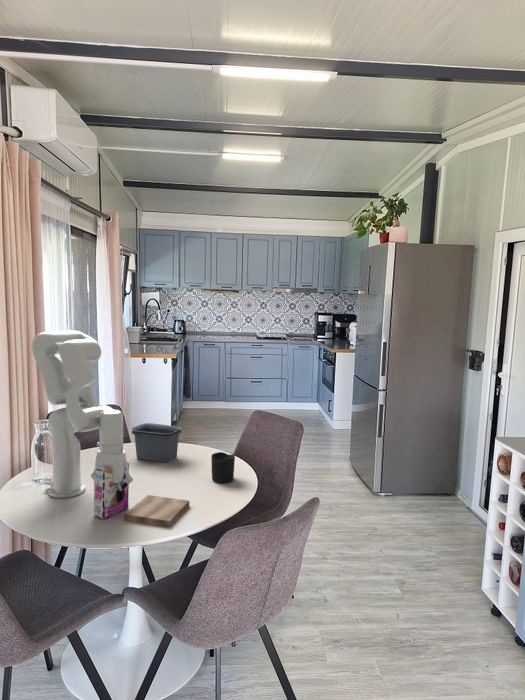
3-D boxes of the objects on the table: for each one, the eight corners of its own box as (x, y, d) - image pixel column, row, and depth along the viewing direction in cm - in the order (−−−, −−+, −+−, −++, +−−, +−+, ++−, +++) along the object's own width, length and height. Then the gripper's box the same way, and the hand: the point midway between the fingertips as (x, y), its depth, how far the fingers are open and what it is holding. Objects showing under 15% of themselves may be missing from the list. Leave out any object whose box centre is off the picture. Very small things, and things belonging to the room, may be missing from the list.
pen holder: (229, 474, 194) (230, 451, 193) (237, 482, 186) (238, 458, 185) (208, 477, 191) (208, 453, 190) (215, 485, 182) (215, 460, 181)
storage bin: (127, 459, 209) (127, 428, 208) (147, 450, 223) (147, 420, 222) (168, 466, 202) (169, 434, 200) (186, 455, 216) (186, 425, 215)
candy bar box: (104, 520, 151) (103, 471, 149) (93, 516, 153) (92, 468, 152) (129, 507, 160) (129, 461, 159) (119, 504, 163) (119, 458, 161)
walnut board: (124, 520, 151) (124, 514, 151) (147, 500, 167) (147, 495, 166) (169, 526, 147) (169, 520, 147) (189, 506, 163) (189, 500, 163)
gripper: (81, 448, 153) (82, 500, 155) (128, 453, 149) (129, 507, 151) (95, 441, 160) (95, 492, 162) (140, 446, 156) (140, 498, 158)
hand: (111, 498), depth 156 cm, fingers closed on candy bar box, 5 cm apart
